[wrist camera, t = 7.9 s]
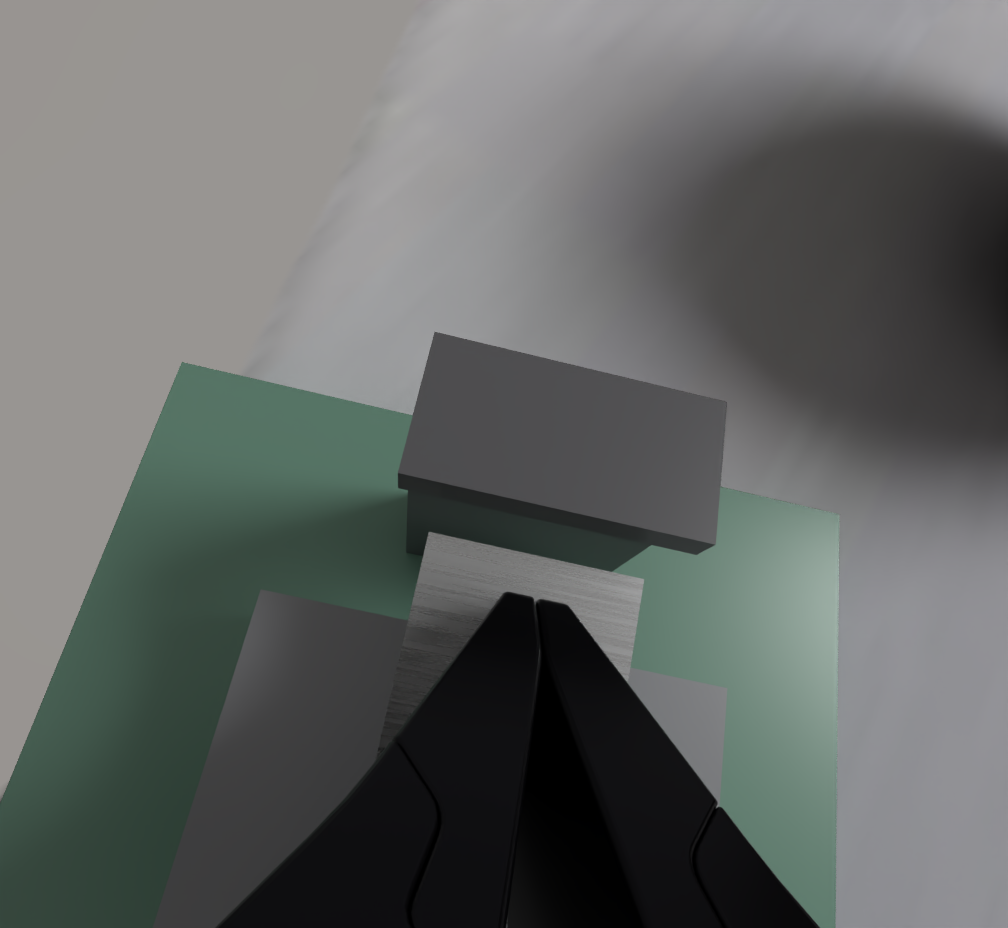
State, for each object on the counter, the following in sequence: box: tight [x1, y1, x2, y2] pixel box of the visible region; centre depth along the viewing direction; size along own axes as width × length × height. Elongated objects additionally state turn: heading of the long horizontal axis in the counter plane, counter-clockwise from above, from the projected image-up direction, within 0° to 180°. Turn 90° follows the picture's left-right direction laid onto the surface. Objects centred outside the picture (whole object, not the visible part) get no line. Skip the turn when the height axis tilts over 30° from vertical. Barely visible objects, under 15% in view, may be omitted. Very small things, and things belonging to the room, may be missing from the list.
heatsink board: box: [0, 332, 839, 928], centre depth 10 cm, size 18×16×8 cm
